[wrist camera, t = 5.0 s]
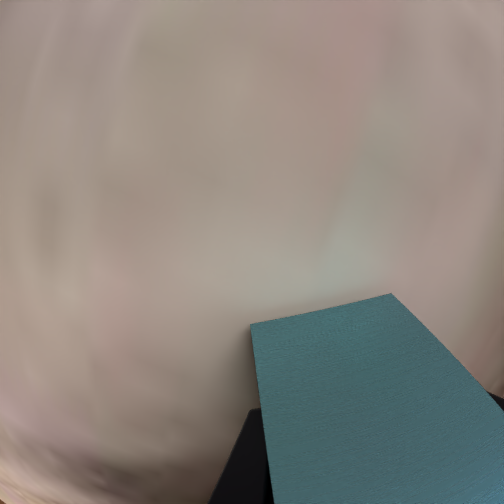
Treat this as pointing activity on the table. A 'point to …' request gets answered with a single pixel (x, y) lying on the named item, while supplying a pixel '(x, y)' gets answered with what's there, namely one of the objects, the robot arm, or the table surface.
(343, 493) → the blade tool
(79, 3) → the table surface
